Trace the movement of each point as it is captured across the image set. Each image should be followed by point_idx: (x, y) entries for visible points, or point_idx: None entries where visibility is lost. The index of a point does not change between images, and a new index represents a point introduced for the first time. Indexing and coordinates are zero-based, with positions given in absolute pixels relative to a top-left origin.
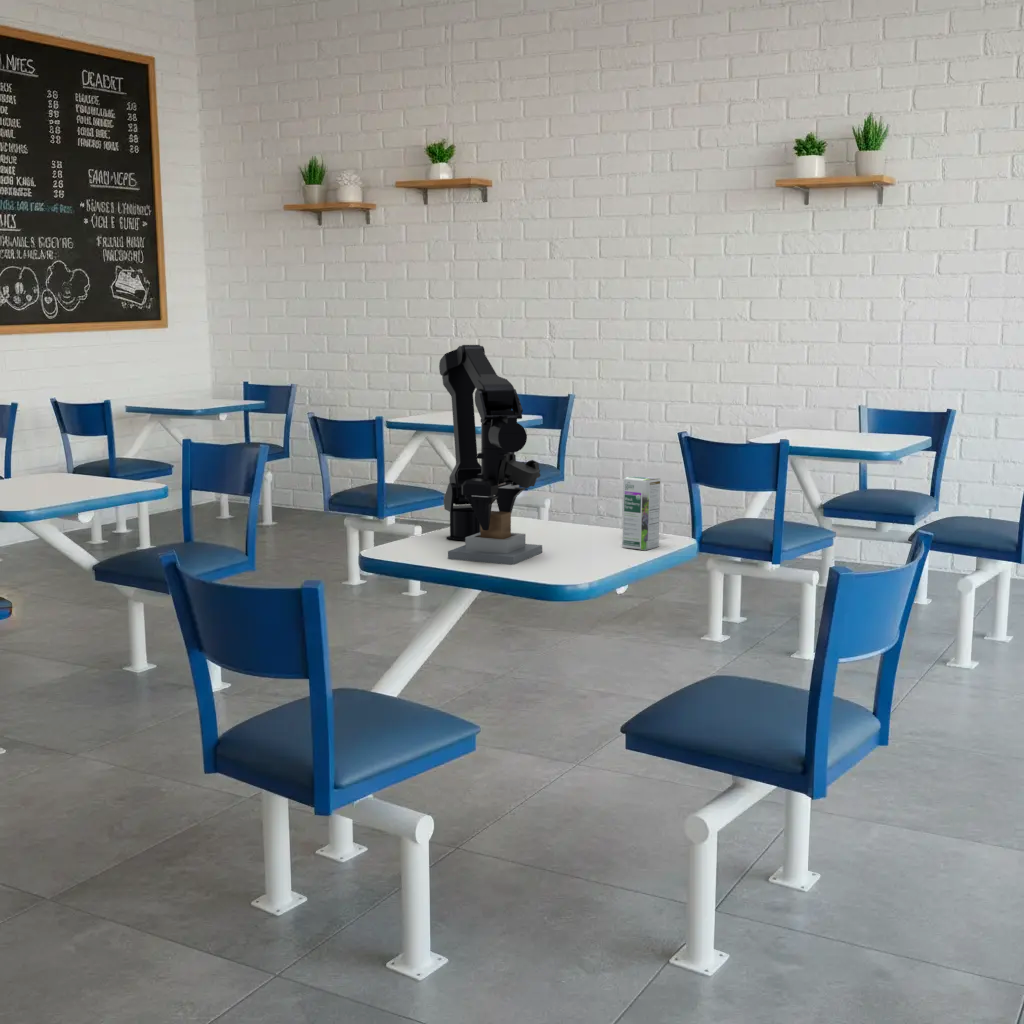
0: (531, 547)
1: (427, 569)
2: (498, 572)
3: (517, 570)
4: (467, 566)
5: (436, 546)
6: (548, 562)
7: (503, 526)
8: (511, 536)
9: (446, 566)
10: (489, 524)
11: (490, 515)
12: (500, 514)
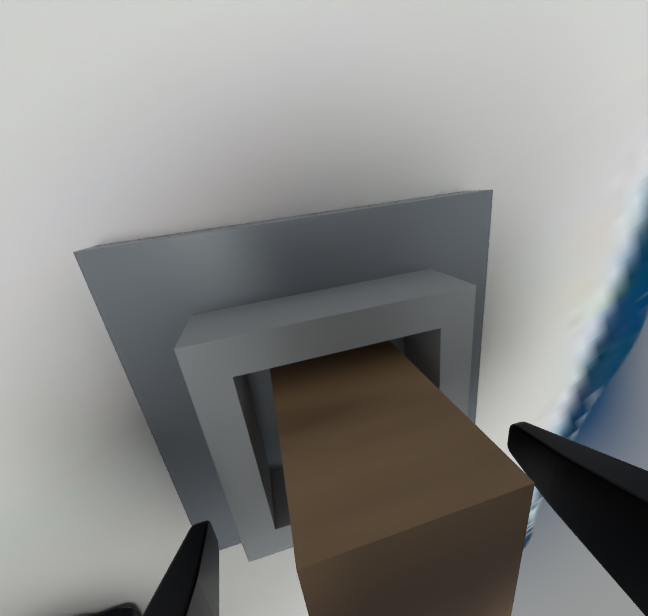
0: (203, 261)
1: (605, 380)
2: (614, 157)
3: (566, 100)
4: (542, 321)
5: (291, 596)
6: (335, 44)
7: (417, 415)
8: (243, 402)
9: (558, 370)
10: (546, 444)
11: (643, 493)
12: (488, 521)
